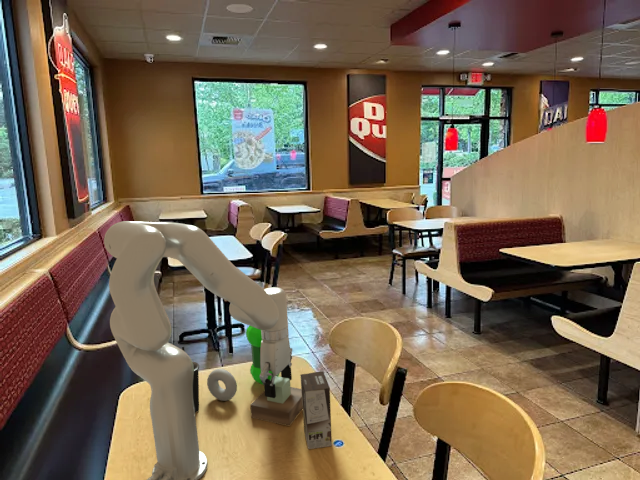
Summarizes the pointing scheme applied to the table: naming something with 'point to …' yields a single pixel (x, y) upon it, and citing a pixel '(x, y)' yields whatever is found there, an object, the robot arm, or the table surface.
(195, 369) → the drinking cup
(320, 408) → the coffee box
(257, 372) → the plastic bottle
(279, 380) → the green block
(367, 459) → the table surface
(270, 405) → the walnut plinth
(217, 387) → the donut
